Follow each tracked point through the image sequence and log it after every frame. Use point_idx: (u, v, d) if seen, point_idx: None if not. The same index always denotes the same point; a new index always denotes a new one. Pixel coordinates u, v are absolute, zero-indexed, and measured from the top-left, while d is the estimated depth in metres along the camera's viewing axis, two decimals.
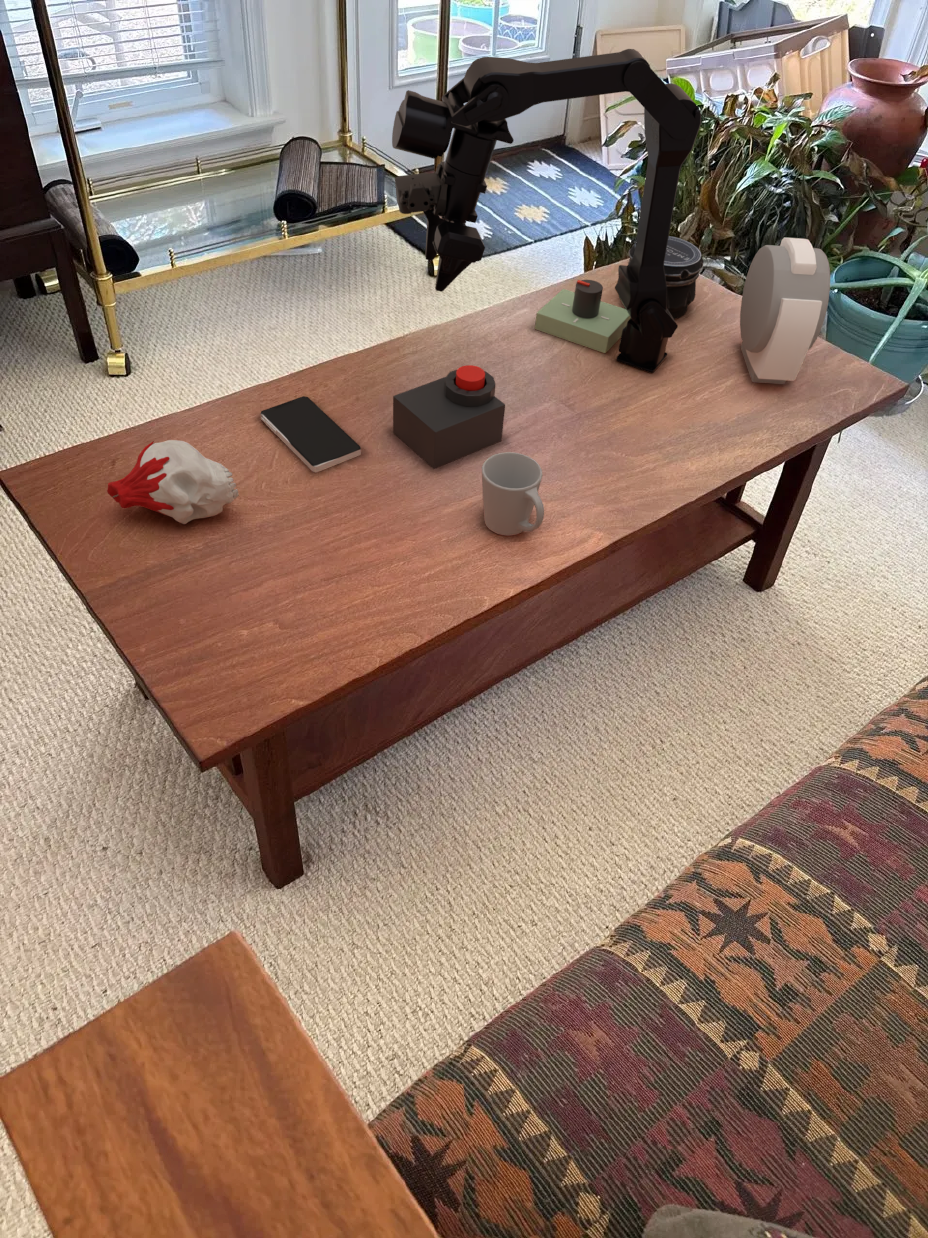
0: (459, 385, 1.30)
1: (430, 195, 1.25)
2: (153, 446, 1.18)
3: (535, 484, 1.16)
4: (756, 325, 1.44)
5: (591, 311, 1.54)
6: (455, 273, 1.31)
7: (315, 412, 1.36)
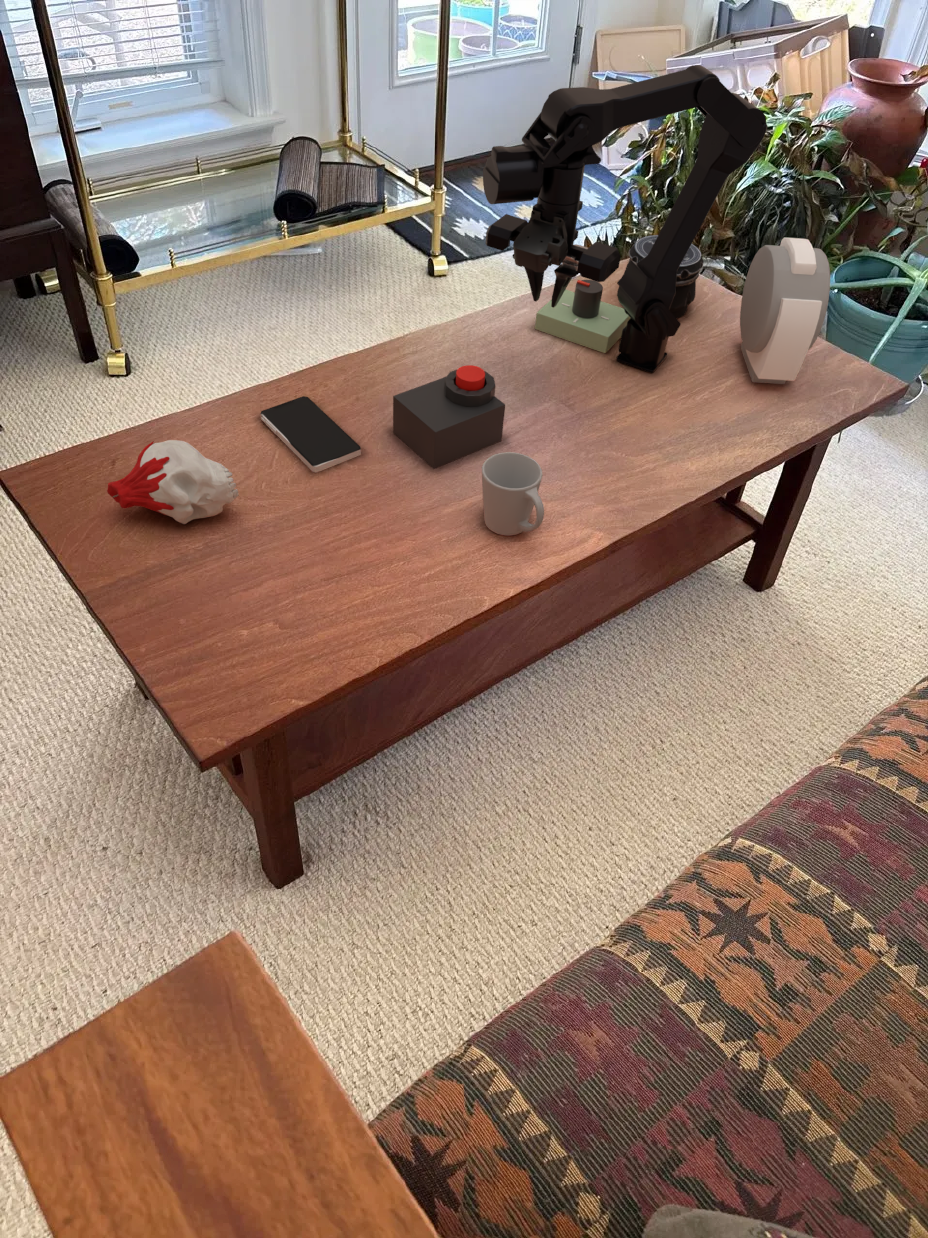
0: (459, 385, 1.30)
1: None
2: (153, 446, 1.18)
3: (535, 484, 1.16)
4: (756, 325, 1.44)
5: (591, 311, 1.54)
6: (567, 283, 1.37)
7: (315, 412, 1.36)
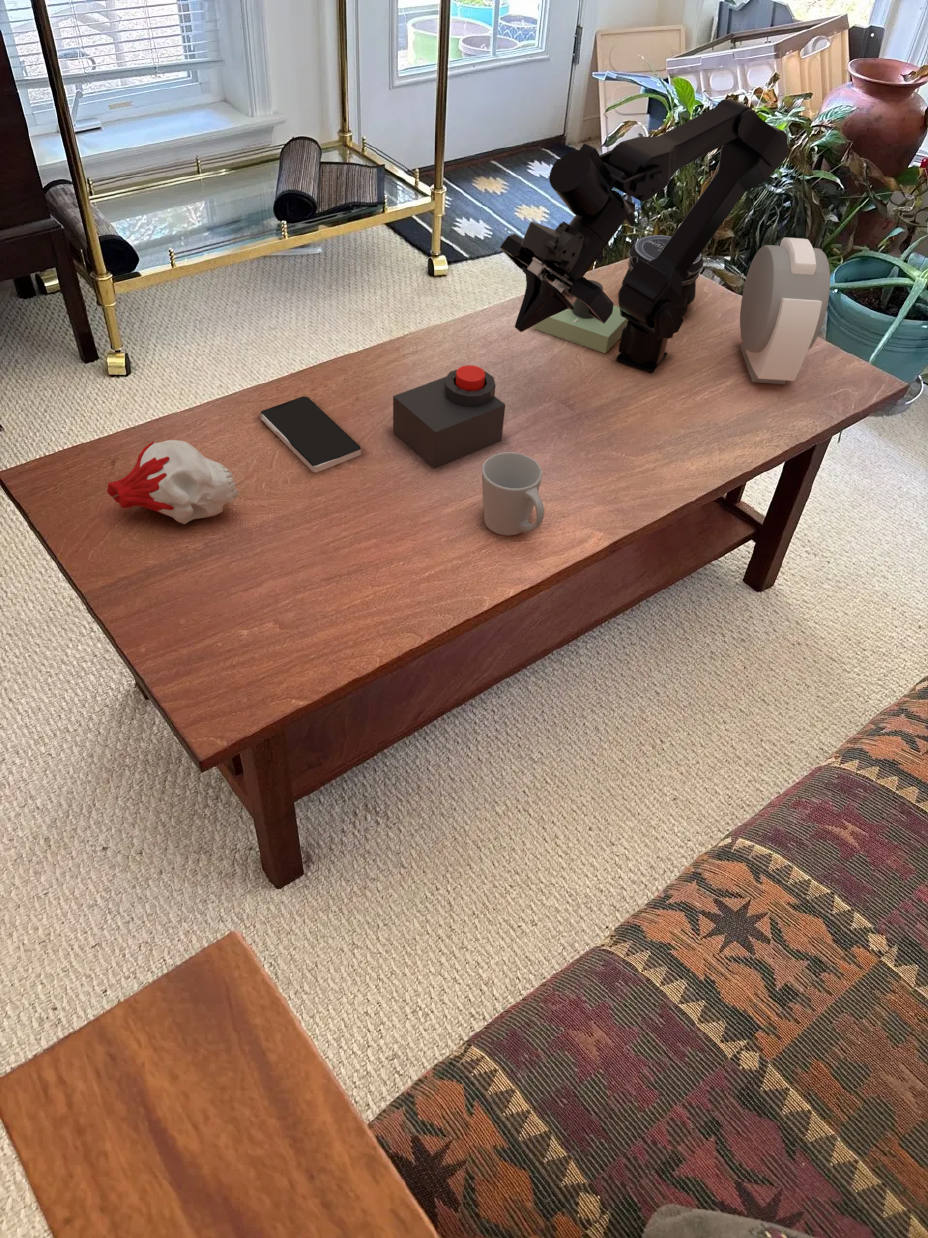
0: (459, 385, 1.30)
1: None
2: (153, 446, 1.18)
3: (535, 484, 1.16)
4: (756, 325, 1.44)
5: None
6: (543, 317, 1.31)
7: (315, 412, 1.36)
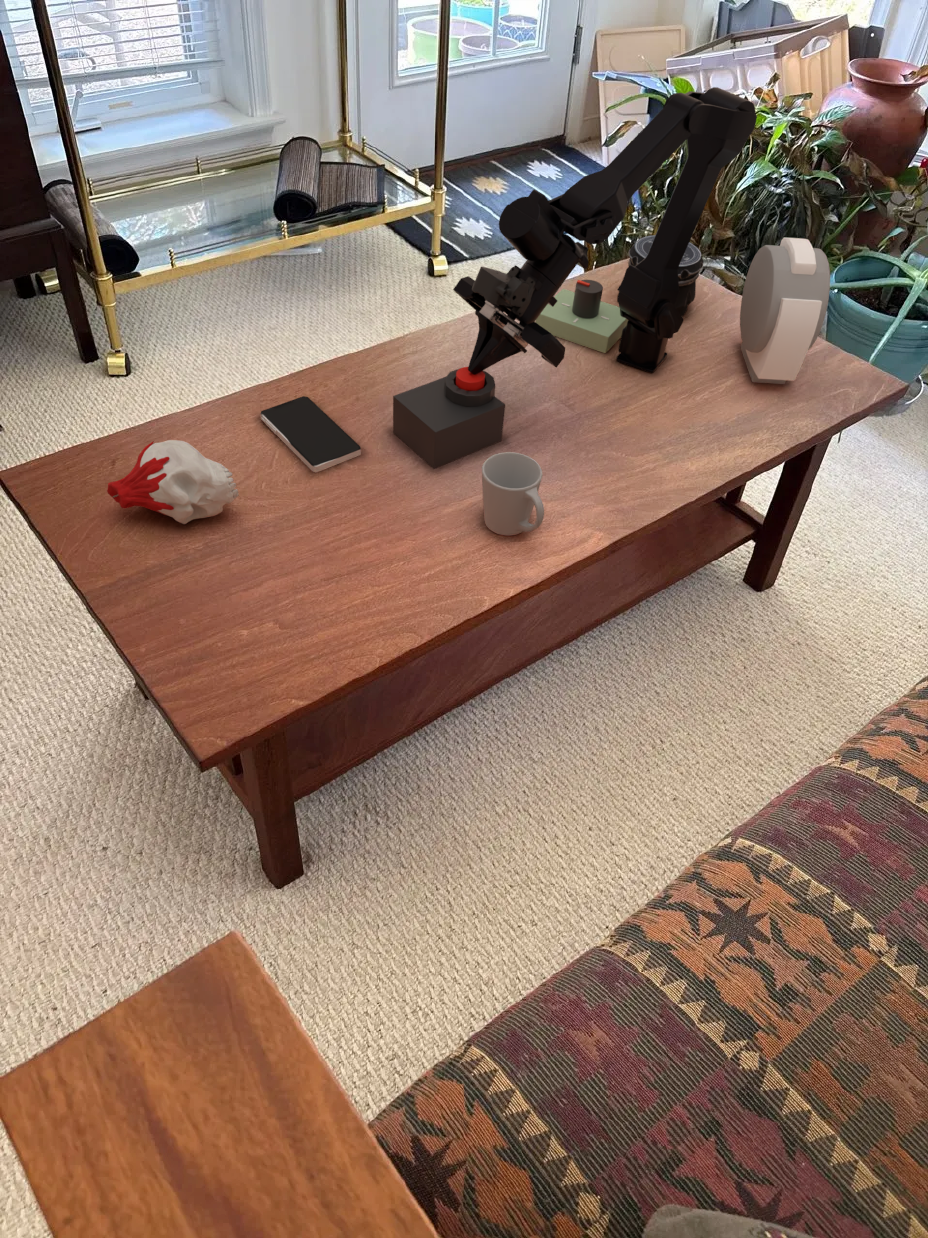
0: (459, 386, 1.30)
1: None
2: (153, 446, 1.18)
3: (535, 484, 1.16)
4: (756, 325, 1.44)
5: (591, 311, 1.54)
6: (496, 360, 1.30)
7: (315, 412, 1.36)
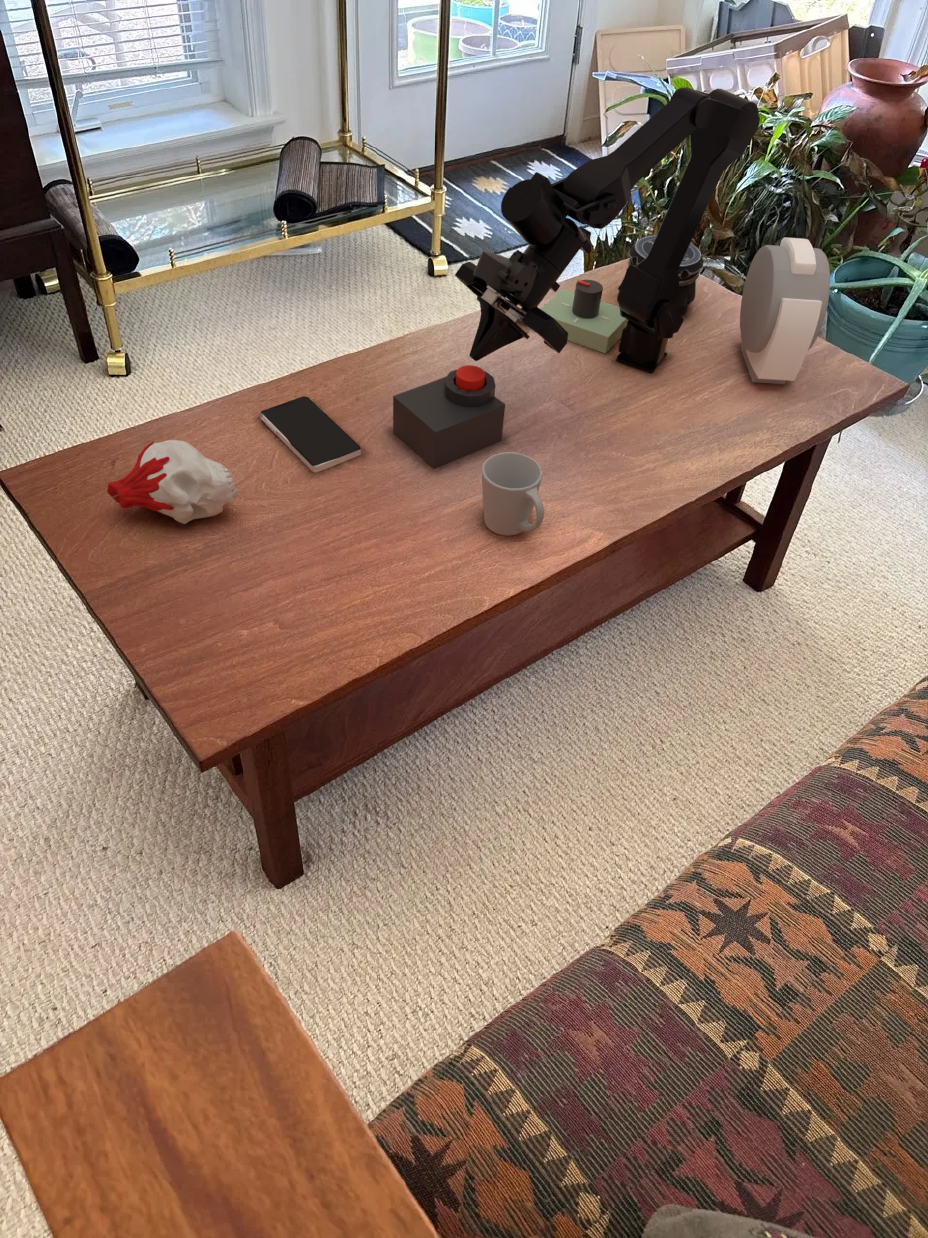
0: (459, 385, 1.30)
1: None
2: (153, 446, 1.18)
3: (535, 484, 1.16)
4: (756, 325, 1.44)
5: (591, 311, 1.54)
6: (498, 346, 1.28)
7: (315, 412, 1.36)
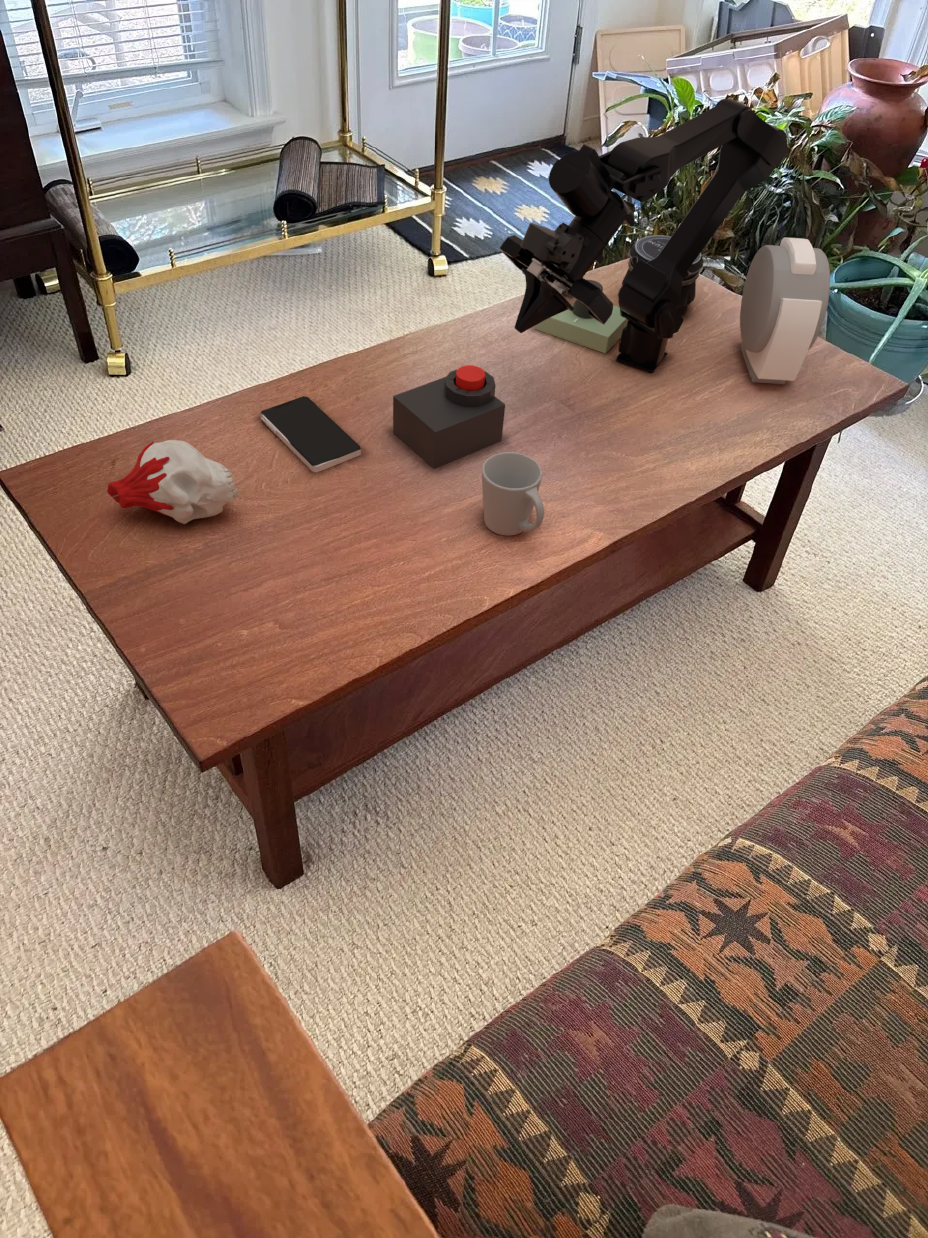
0: (459, 385, 1.30)
1: None
2: (153, 446, 1.18)
3: (535, 484, 1.16)
4: (756, 325, 1.44)
5: None
6: (543, 318, 1.31)
7: (315, 412, 1.36)
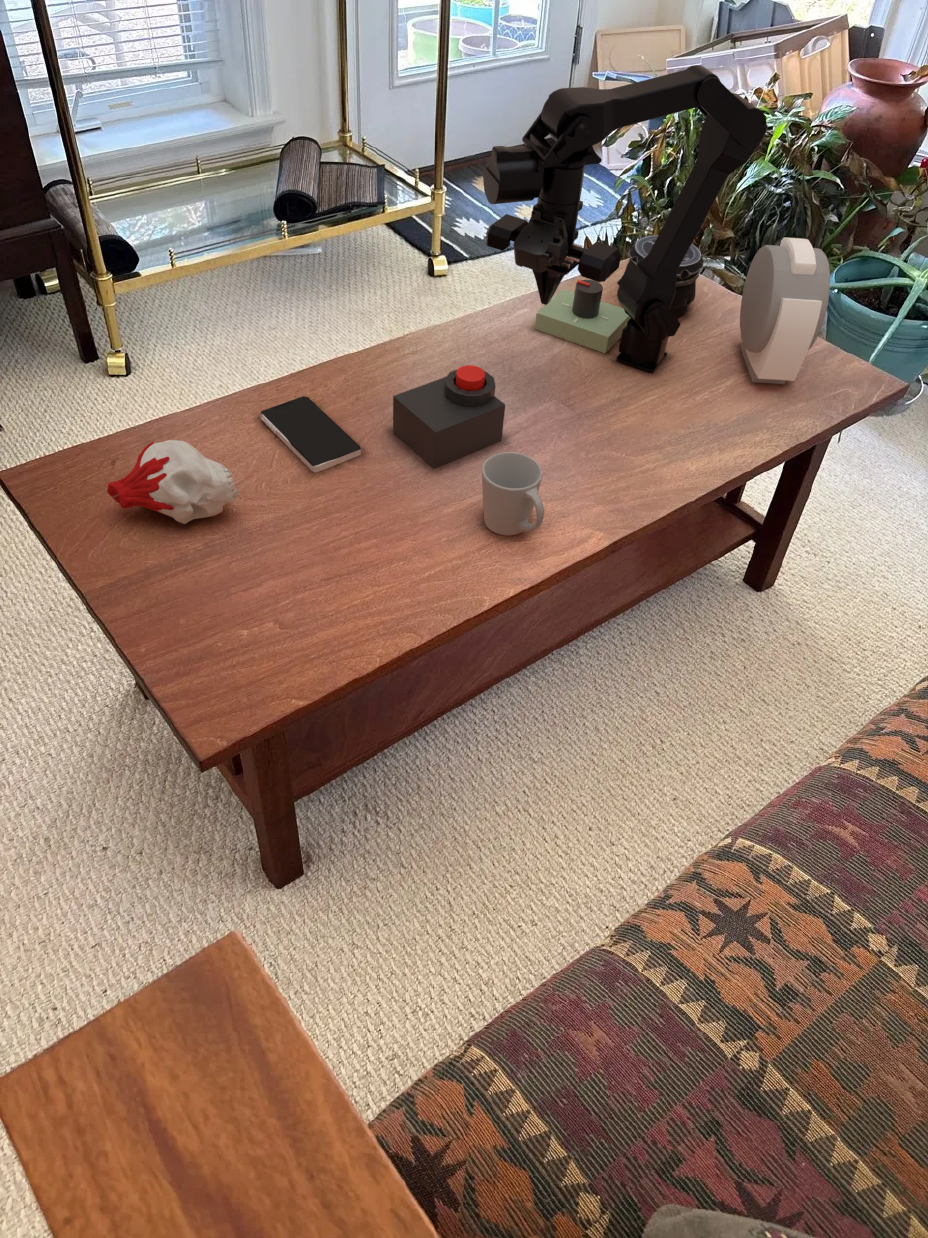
0: (459, 385, 1.30)
1: None
2: (153, 446, 1.18)
3: (535, 484, 1.16)
4: (756, 325, 1.44)
5: (591, 311, 1.54)
6: (560, 281, 1.37)
7: (315, 412, 1.36)
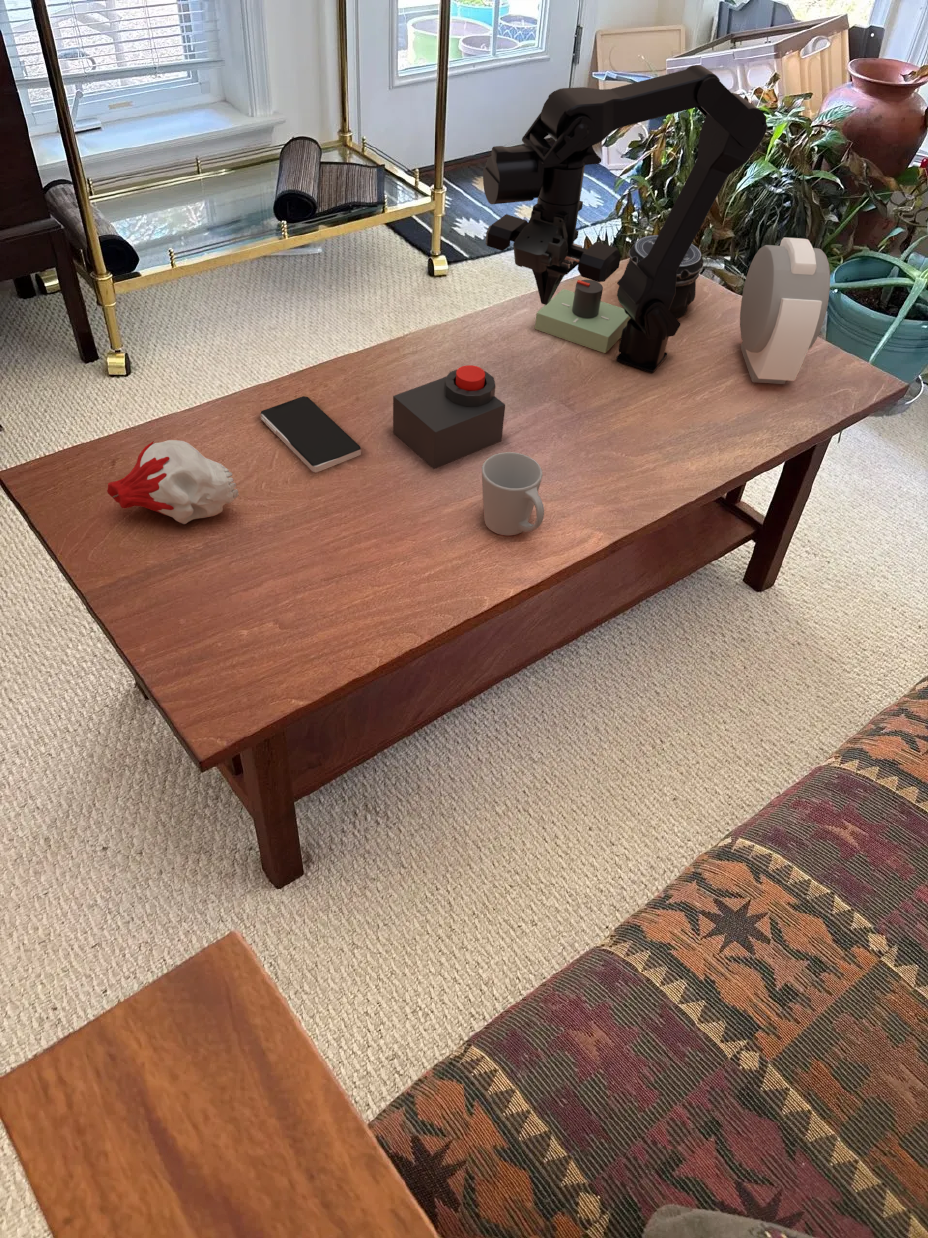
0: (459, 385, 1.30)
1: None
2: (153, 446, 1.18)
3: (535, 484, 1.16)
4: (756, 325, 1.44)
5: (591, 311, 1.54)
6: (560, 281, 1.37)
7: (315, 412, 1.36)
